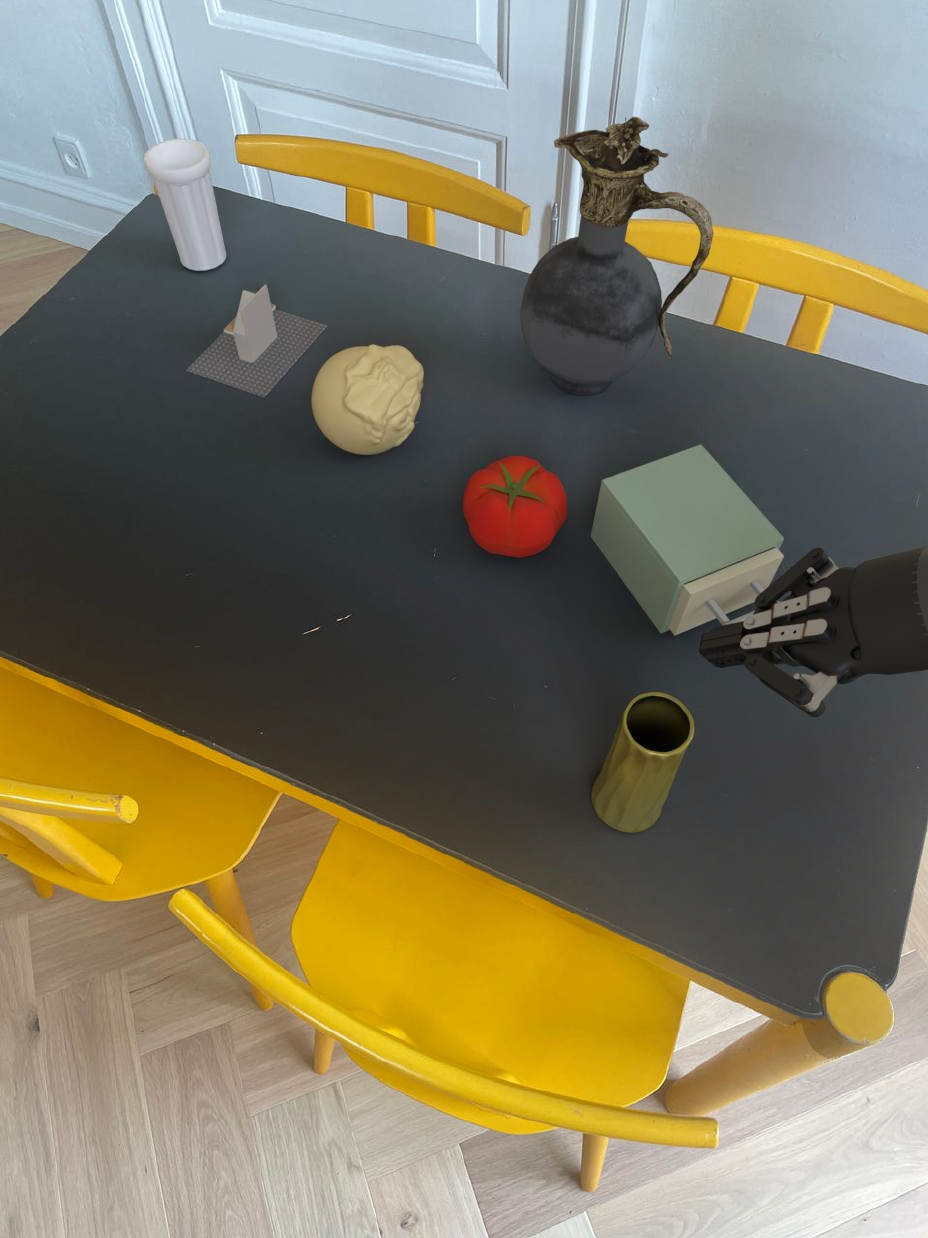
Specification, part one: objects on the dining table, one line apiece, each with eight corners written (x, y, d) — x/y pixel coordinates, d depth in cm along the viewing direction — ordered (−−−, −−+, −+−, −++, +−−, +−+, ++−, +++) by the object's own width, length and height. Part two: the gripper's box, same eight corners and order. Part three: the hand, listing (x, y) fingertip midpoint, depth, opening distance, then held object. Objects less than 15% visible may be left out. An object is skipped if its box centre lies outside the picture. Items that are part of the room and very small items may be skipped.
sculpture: (390, 483, 95) (384, 408, 86) (299, 447, 98) (283, 370, 89) (439, 419, 100) (438, 342, 91) (351, 387, 103) (342, 309, 94)
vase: (585, 824, 73) (610, 750, 61) (596, 759, 76) (622, 678, 64) (657, 841, 72) (697, 770, 60) (665, 775, 75) (704, 695, 63)
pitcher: (537, 333, 109) (562, 77, 85) (681, 375, 105) (752, 120, 80) (503, 384, 104) (519, 127, 79) (654, 432, 99) (721, 176, 75)
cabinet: (757, 593, 86) (784, 538, 79) (660, 633, 84) (679, 581, 76) (682, 501, 93) (701, 443, 86) (590, 536, 90) (601, 479, 83)
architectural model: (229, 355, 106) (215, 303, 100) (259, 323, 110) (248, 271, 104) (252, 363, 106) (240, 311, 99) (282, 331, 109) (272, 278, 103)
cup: (193, 284, 114) (163, 178, 103) (163, 257, 118) (130, 151, 106) (245, 262, 117) (221, 156, 106) (214, 235, 121) (188, 131, 109)
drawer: (789, 630, 83) (813, 589, 77) (699, 670, 80) (717, 629, 75) (691, 512, 91) (707, 467, 86) (607, 544, 89) (617, 499, 83)
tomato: (511, 478, 95) (515, 427, 89) (583, 534, 91) (593, 485, 84) (439, 527, 91) (438, 477, 85) (511, 589, 86) (515, 541, 80)
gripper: (926, 484, 54) (691, 552, 66) (917, 667, 47) (660, 703, 60) (976, 551, 57) (744, 603, 70) (973, 729, 51) (720, 750, 64)
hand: (706, 649), depth 65 cm, fingers closed
